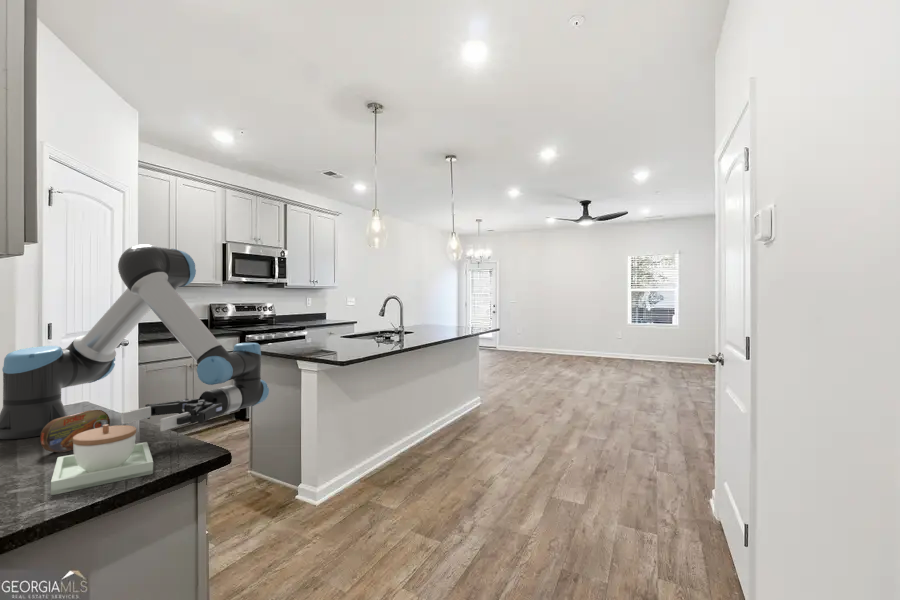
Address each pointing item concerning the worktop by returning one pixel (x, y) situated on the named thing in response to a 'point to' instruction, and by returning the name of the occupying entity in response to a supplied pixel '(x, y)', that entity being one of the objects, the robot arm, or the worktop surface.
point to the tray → (76, 478)
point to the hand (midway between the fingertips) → (141, 421)
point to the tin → (70, 429)
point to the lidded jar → (104, 447)
